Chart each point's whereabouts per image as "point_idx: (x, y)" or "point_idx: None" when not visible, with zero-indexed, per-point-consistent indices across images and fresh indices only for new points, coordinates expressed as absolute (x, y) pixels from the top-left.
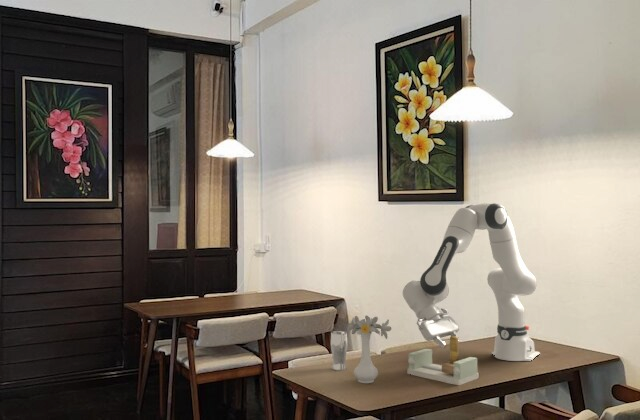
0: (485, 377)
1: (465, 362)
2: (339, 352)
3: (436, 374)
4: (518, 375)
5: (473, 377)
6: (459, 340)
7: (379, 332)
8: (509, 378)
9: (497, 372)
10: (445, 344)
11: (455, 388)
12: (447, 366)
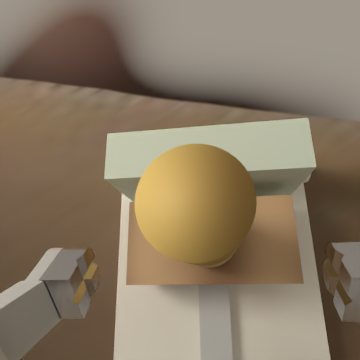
0: (102, 163)
1: (245, 124)
2: None
3: (307, 307)
4: (3, 100)
5: None
6: (48, 251)
7: None
8: (59, 98)
9: (3, 173)
10: (348, 243)
11: (342, 150)
12: (295, 235)
